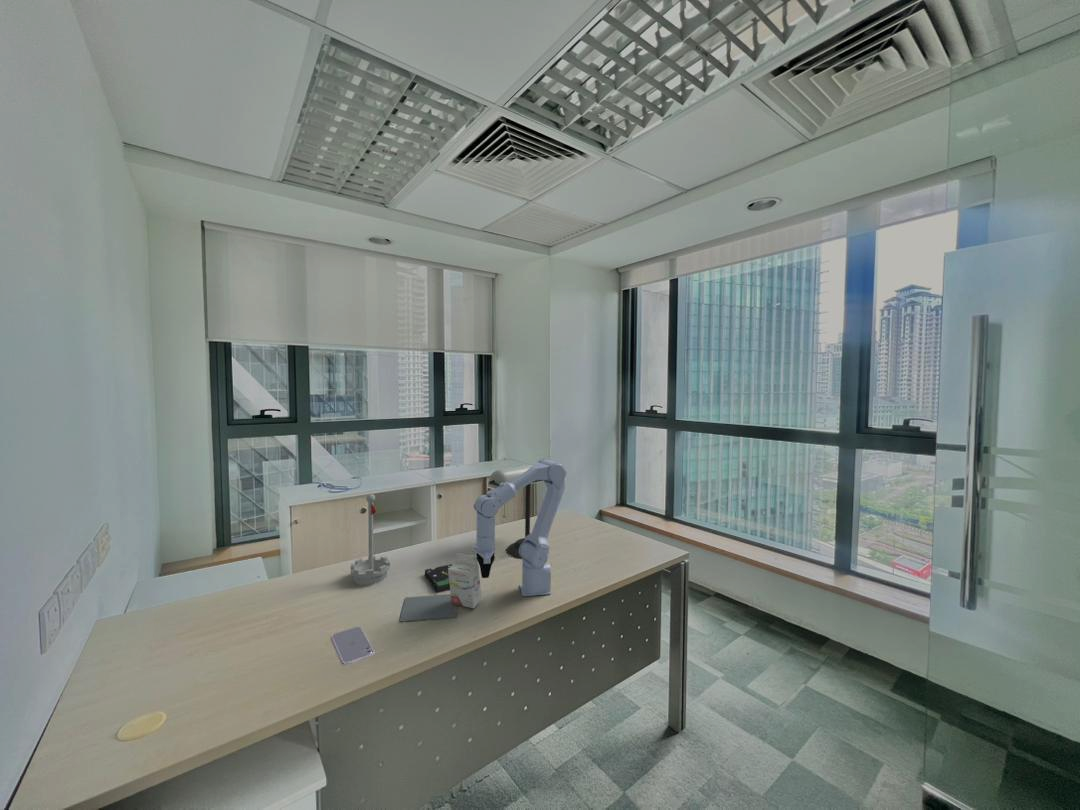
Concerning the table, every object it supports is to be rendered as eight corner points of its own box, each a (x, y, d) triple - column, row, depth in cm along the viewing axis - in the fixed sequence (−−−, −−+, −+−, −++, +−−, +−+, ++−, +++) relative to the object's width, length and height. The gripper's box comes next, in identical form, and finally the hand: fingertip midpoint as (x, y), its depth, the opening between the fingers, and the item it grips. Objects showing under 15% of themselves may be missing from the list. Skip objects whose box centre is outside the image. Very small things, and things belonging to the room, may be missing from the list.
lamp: (527, 533, 198) (528, 461, 196) (564, 548, 180) (566, 469, 178) (479, 547, 180) (480, 468, 178) (516, 566, 162) (517, 478, 161)
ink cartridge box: (450, 604, 133) (445, 559, 131) (460, 595, 137) (455, 552, 136) (473, 609, 129) (468, 563, 128) (482, 600, 134) (477, 555, 132)
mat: (456, 594, 140) (456, 593, 140) (456, 617, 126) (456, 616, 126) (405, 598, 137) (405, 597, 136) (399, 622, 123) (399, 621, 123)
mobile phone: (360, 624, 120) (375, 652, 108) (360, 628, 120) (375, 655, 108) (330, 633, 116) (343, 663, 104) (330, 637, 116) (343, 667, 104)
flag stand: (345, 576, 151) (345, 493, 150) (382, 566, 160) (382, 487, 158) (357, 590, 141) (357, 501, 140) (396, 579, 150) (396, 495, 149)
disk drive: (424, 577, 153) (437, 594, 141) (424, 569, 153) (437, 586, 140) (451, 571, 159) (467, 586, 146) (451, 563, 158) (467, 578, 146)
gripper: (472, 527, 140) (471, 567, 140) (473, 543, 125) (473, 588, 126) (493, 526, 141) (493, 566, 142) (497, 542, 127) (497, 586, 127)
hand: (485, 576), depth 134 cm, fingers closed
